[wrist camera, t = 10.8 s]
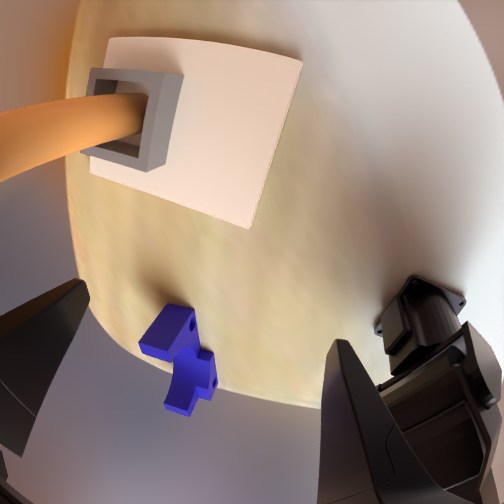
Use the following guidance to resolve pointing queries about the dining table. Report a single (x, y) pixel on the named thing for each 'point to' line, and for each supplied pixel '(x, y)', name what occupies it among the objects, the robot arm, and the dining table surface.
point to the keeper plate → (196, 121)
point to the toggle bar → (66, 128)
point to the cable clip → (181, 357)
